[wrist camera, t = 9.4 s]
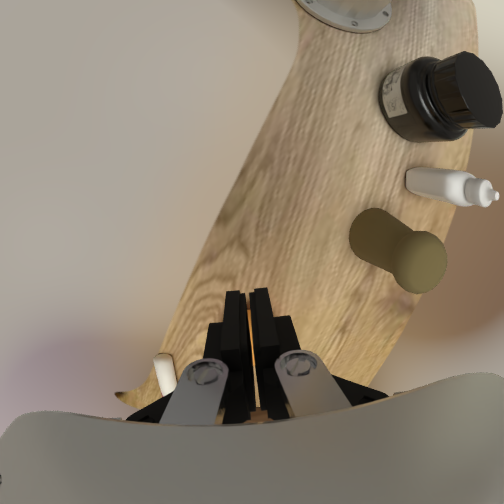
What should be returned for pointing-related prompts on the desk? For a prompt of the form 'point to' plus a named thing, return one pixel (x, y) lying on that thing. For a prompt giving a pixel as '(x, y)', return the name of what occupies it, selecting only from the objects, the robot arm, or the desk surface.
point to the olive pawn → (399, 250)
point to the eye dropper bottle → (450, 186)
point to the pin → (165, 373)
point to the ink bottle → (441, 98)
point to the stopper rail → (259, 416)
